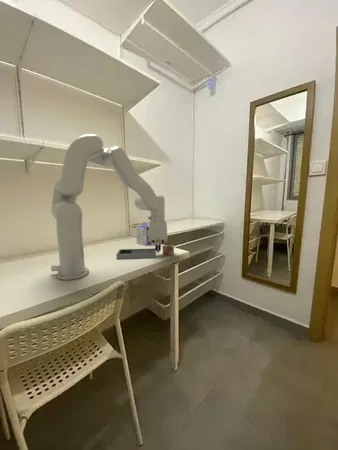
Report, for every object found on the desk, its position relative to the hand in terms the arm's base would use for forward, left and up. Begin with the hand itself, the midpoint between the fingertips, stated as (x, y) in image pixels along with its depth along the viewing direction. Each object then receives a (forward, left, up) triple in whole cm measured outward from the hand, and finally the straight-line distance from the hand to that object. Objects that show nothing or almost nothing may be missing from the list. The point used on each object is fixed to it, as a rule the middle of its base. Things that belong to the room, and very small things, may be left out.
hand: (158, 251), depth 116 cm
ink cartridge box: (-9, +26, -2) cm, 28 cm away
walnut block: (+6, 0, -2) cm, 6 cm away
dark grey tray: (-11, 0, -2) cm, 11 cm away
